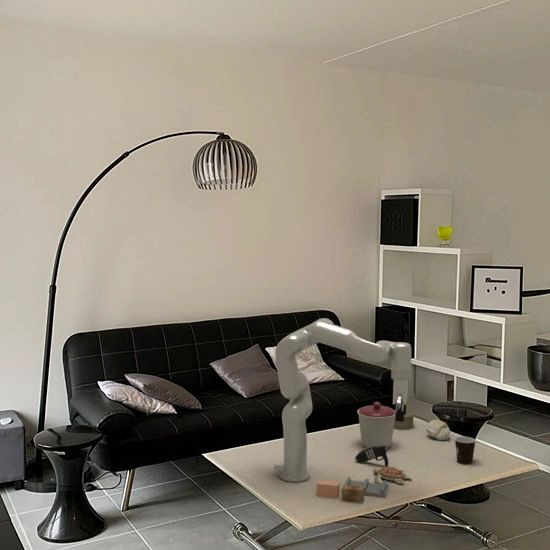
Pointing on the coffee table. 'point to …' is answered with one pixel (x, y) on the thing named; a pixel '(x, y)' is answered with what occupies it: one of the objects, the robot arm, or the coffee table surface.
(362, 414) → the canister
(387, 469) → the decorative turtle
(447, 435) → the fossil replica
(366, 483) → the slot rack
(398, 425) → the can
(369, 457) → the gun
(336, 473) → the coffee table surface
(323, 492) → the terracotta bar
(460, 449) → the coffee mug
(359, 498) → the walnut bar
